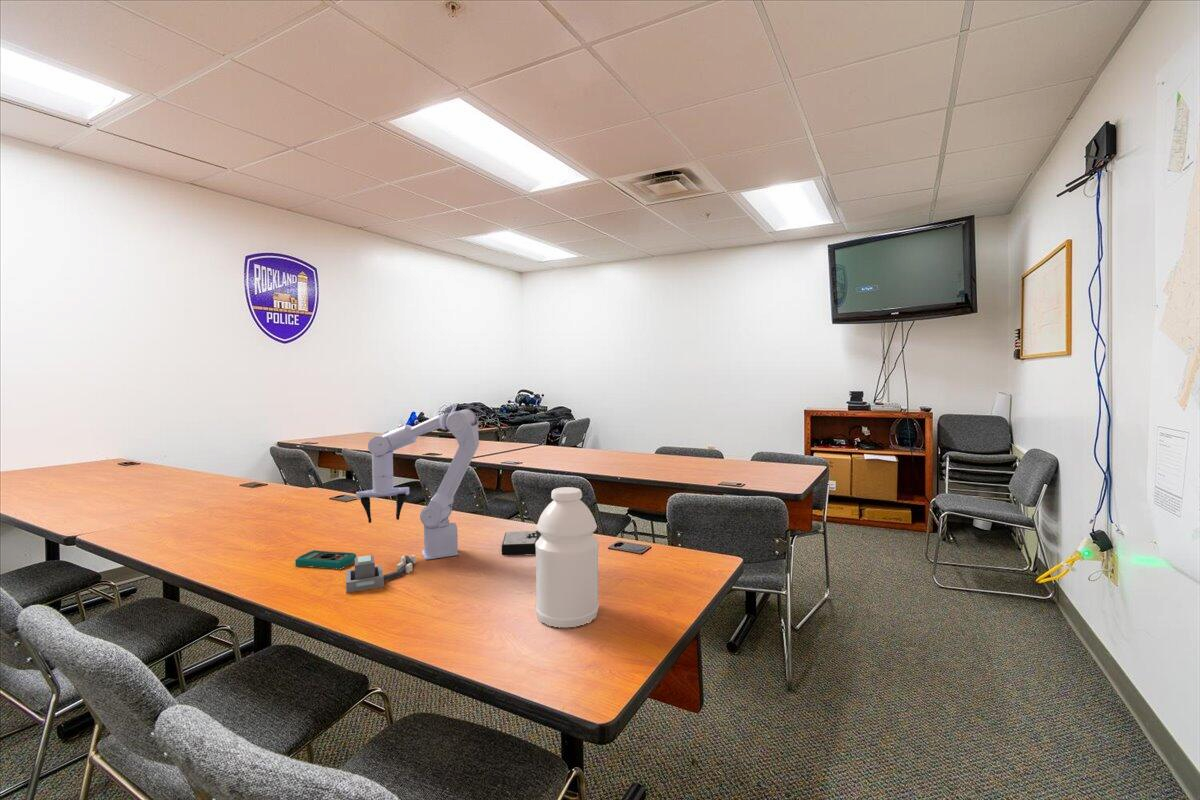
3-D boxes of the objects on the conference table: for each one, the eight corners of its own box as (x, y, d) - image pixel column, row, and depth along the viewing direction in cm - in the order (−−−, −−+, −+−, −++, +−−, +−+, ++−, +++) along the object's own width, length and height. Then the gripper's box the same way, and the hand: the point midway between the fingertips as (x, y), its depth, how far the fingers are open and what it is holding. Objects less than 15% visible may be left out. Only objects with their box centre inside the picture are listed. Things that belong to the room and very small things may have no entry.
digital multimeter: (341, 571, 142) (341, 560, 142) (294, 567, 145) (293, 557, 144) (358, 561, 149) (358, 551, 149) (312, 558, 152) (312, 548, 152)
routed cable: (423, 559, 149) (423, 552, 149) (400, 581, 133) (400, 574, 133) (404, 559, 150) (404, 552, 149) (380, 581, 134) (379, 574, 133)
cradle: (381, 574, 139) (381, 565, 138) (383, 587, 130) (383, 577, 130) (346, 579, 135) (346, 570, 135) (346, 593, 126) (346, 583, 126)
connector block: (373, 577, 137) (373, 553, 136) (375, 585, 131) (374, 560, 131) (355, 580, 135) (354, 556, 134) (355, 589, 129) (354, 563, 129)
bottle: (591, 632, 107) (591, 498, 106) (527, 627, 109) (526, 496, 108) (603, 603, 121) (603, 484, 120) (545, 598, 123) (545, 482, 122)
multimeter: (566, 554, 155) (566, 538, 154) (501, 557, 153) (501, 540, 152) (565, 540, 168) (565, 525, 167) (505, 542, 166) (505, 527, 166)
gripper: (356, 480, 147) (357, 527, 148) (410, 475, 153) (411, 520, 154) (355, 475, 153) (356, 520, 154) (407, 471, 160) (408, 515, 160)
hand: (383, 520), depth 155 cm, fingers open, 7 cm apart
